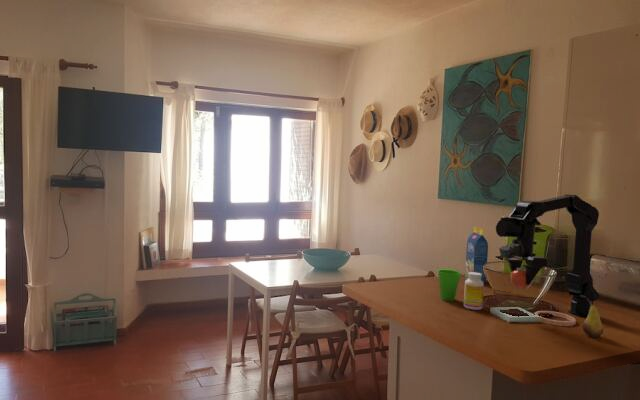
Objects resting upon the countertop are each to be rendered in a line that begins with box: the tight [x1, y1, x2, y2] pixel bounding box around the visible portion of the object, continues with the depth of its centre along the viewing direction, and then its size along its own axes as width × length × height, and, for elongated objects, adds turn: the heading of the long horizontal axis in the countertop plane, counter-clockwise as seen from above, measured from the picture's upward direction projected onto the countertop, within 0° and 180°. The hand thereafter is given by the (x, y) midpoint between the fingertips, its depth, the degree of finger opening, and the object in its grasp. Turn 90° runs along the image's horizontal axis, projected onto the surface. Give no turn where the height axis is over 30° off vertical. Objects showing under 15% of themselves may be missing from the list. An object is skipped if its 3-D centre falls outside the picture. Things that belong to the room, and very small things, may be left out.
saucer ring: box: [533, 310, 577, 327], centre depth 166 cm, size 13×13×1 cm
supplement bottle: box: [463, 272, 485, 311], centre depth 176 cm, size 7×7×13 cm
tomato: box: [510, 264, 534, 290], centre depth 166 cm, size 7×7×8 cm
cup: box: [437, 268, 462, 302], centre depth 187 cm, size 9×9×11 cm
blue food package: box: [464, 226, 489, 284], centre depth 224 cm, size 6×12×25 cm, turn 0°
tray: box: [489, 306, 540, 323], centre depth 167 cm, size 12×12×2 cm
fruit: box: [582, 297, 604, 338], centre depth 150 cm, size 6×6×12 cm
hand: (521, 282), depth 166 cm, fingers closed on tomato, 7 cm apart
